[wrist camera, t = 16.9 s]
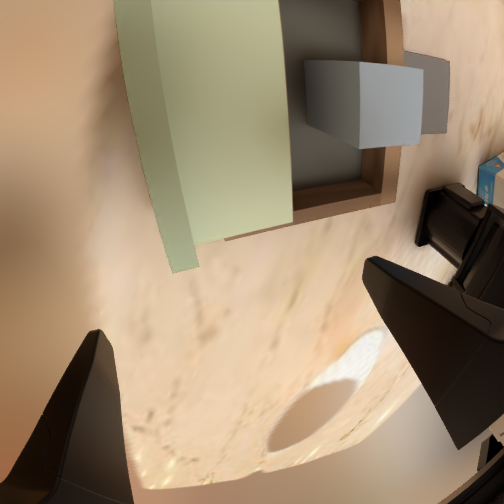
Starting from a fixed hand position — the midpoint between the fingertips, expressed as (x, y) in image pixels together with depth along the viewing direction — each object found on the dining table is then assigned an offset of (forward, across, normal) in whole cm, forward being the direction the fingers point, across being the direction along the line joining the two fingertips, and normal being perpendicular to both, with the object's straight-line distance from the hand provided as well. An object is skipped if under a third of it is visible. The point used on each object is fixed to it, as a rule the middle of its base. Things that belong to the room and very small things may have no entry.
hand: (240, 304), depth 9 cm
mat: (+12, -19, -4) cm, 23 cm away
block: (+12, -10, -4) cm, 16 cm away
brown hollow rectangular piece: (+12, -8, -4) cm, 15 cm away
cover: (+9, -1, -4) cm, 10 cm away
